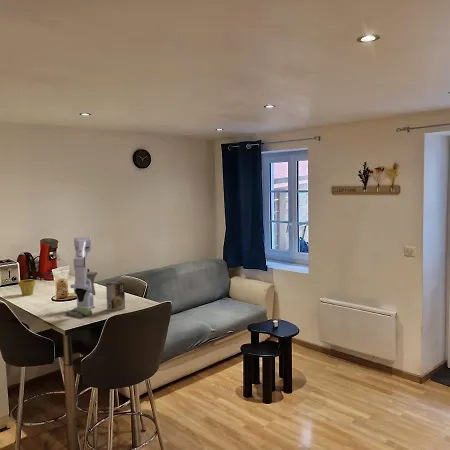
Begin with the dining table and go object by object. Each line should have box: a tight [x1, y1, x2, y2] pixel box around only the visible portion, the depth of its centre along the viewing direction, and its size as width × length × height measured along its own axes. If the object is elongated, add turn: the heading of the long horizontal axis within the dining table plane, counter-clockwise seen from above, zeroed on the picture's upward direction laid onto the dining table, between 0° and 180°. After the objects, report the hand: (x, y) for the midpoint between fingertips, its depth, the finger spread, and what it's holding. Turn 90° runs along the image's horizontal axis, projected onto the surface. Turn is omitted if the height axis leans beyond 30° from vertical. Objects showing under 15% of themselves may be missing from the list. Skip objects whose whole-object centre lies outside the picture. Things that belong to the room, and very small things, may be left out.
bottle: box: [74, 306, 92, 317], centre depth 250 cm, size 4×4×10 cm
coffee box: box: [105, 280, 126, 312], centre depth 263 cm, size 9×6×16 cm
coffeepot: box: [87, 268, 98, 296], centre depth 300 cm, size 15×9×18 cm, turn 129°
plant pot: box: [18, 279, 36, 297], centre depth 302 cm, size 10×10×10 cm
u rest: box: [66, 308, 93, 319], centre depth 251 cm, size 8×12×2 cm, turn 60°
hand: (81, 301), depth 250 cm, fingers closed
